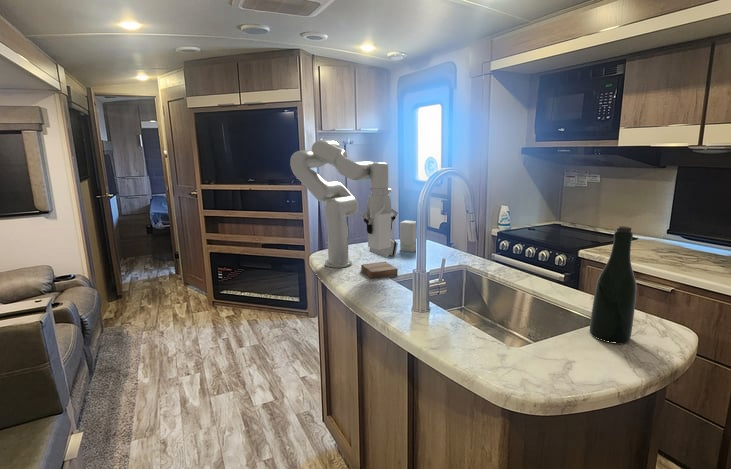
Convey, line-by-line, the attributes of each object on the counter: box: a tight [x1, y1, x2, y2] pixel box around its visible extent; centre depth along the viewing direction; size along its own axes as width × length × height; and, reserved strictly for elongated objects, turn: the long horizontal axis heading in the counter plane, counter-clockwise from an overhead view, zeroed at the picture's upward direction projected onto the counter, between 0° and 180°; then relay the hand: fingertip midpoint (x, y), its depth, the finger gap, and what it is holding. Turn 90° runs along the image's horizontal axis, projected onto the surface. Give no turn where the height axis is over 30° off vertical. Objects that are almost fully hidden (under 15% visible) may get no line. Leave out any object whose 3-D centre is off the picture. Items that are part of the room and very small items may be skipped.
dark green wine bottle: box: [588, 226, 638, 344], centre depth 115 cm, size 10×10×33 cm
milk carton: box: [367, 205, 392, 250], centre depth 173 cm, size 7×7×19 cm
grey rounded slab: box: [369, 237, 398, 258], centre depth 210 cm, size 17×5×10 cm, turn 35°
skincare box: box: [399, 219, 416, 253], centre depth 214 cm, size 8×7×16 cm
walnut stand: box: [360, 261, 399, 280], centre depth 177 cm, size 12×12×3 cm
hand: (379, 232), depth 173 cm, fingers closed on milk carton, 8 cm apart
